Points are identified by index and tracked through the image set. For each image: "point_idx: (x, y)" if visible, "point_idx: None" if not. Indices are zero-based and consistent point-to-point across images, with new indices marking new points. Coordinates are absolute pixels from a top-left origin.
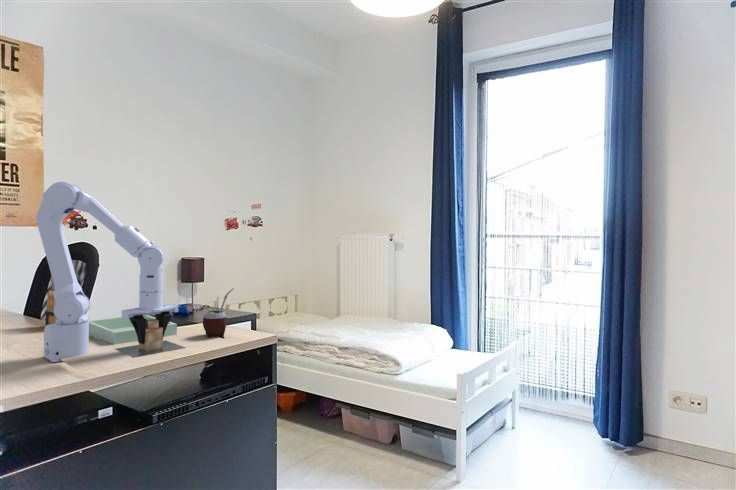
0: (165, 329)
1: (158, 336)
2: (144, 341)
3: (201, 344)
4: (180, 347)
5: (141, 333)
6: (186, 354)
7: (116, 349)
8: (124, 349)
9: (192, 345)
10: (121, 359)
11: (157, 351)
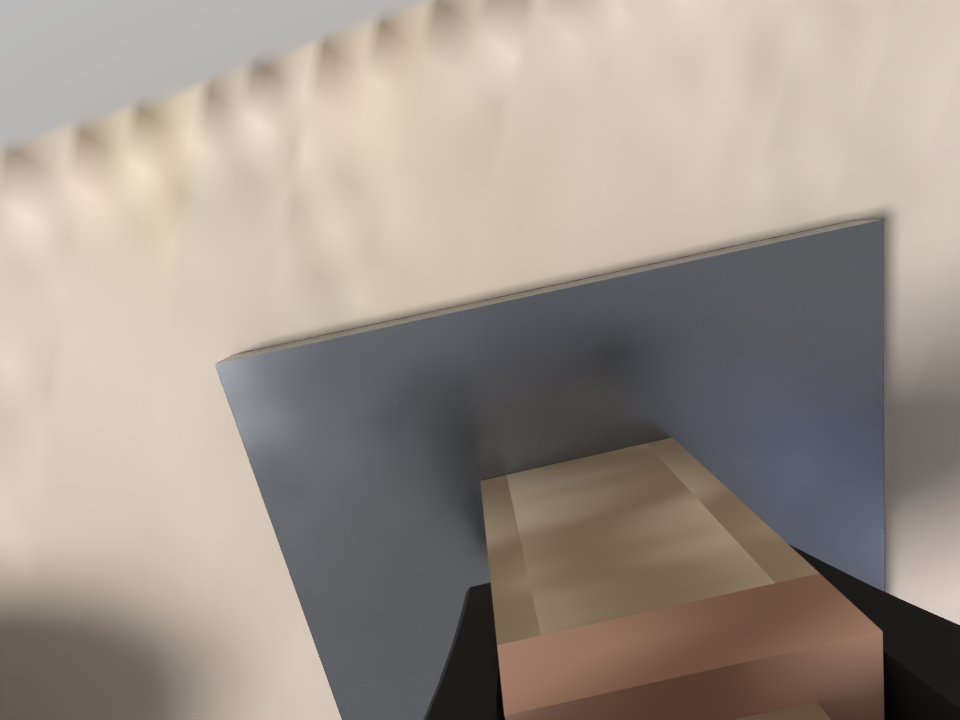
0: (429, 714)
1: (562, 568)
2: None
3: (17, 552)
4: (282, 414)
5: (903, 603)
6: (265, 174)
7: None
8: None
9: (125, 556)
10: (920, 348)
11: (572, 360)
